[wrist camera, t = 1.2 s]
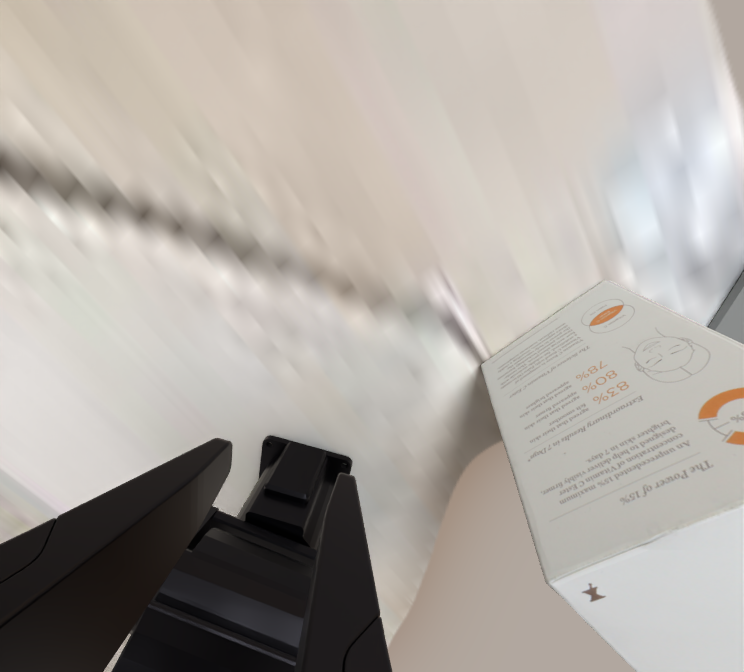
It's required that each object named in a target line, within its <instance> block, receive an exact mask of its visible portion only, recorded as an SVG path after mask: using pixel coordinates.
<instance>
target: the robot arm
mask: <svg viewBox="0 0 744 672" xmlns="http://www.w3.org/2000/svg"><path fill="white" fill-rule="evenodd" d="M269 442H271V443H272V444H270V443H269ZM231 461H232V443H231V442H230V441H227V440H224V439H220V438H215V439H212V440H210V441H208V442H206V443H204V444H202V445H200V446H198V447H196V448H194V449H192V450H190V451H188V452H186V453H184V454H182V455H180V456H178V457H176V458H174V459H172V460H170V461H168V462H166V463H164V464H162V465H160V466H158V467H156V468H154V469H152V470H150V471H148V472H146V473H144V474H142V475H140V476H138V477H136V478H134V479H132V480H130V481H128V482H126V483H124V484H122V485H120V486H118V487H116V488H114V489H112V490H110V491H108V492H106V493H104V494H102V495H100V496H98V497H96V498H94V499H92V500H90V501H88V502H86V503H84V504H81V505H79V506H77V507H75V508H73V509H71V510H69V511H67V512H65V513H63V514H61V515H59V516H58V518H57V519H56V518H53V519H51V520H49V521H47V522H45V523H43V524H41V525H39V526H37V527H35V528H33V529H31V530H29V531H27V532H25V533H22V534H20V535H18V536H16V537H14V538H12V539H10V540H8V541H6V542H4V543H1V544H0V672H103V671H104V669H105V668H106V667H107V665H108V664H109V662H110V661H111V659H112V658H113V656H114V655H115V653H116V652H117V650H118V649H119V647H120V646H121V644H122V643H123V641H124V640H125V638H126V637H127V635H128V634H129V633H130V634H131V636H130V638H129V640H128V642H127V644H126V646H125V647H124V649H123V651H122V653H121V655H120V657H119V659H118V661H117V662H116V664H115V666H114V668H113V670H112V672H392V668H391V663H390V659H389V654H388V649H387V645H386V640H385V635H384V629H383V624H382V619H381V617H380V609H379V604H378V598H377V593H376V587H375V582H374V577H373V571H372V566H371V560H370V555H369V550H368V544H367V539H366V533H365V528H364V523H363V517H362V512H361V506H360V501H359V496H358V490H357V485H356V480H355V477H354V476H352V475H350V471H351V467H352V460H351V459H350V458H349V457H347V456H344V455H340V454H336V453H333V452H329V451H326V450H322V449H318V448H315V447H311V446H308V445H304V444H300V443H297V442H293V441H290V440H286V439H282V438H279V437H275V436H267V437H266V438H265V440H264V441H263V445H262V455H261V464H260V473H259V480H258V482H257V484H256V485H255V487H254V489H253V490H252V492H251V494H250V495H249V497H248V499H247V500H246V502H245V504H244V505H243V507H242V509H241V510H240V512H239V514H238V515H237V517H234V516H231V515H229V514H226V513H224V512H221V511H219V509H218V508H216V507H213V506H212V504H213V502H214V500H215V499H216V497H217V495H218V493H219V491H220V489H221V487H222V486H223V484H224V482H225V480H226V478H227V476H228V474H229V472H230V469H231ZM343 463H346V464H347V465H345V464H343Z"/></svg>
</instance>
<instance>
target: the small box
mask: <svg viewBox="0 0 744 672" xmlns="http://www.w3.org/2000/svg"><path fill="white" fill-rule="evenodd" d="M481 368H482V372H483V375H484V379H485V382H486V385H487V389H488V393H489V396H490V400H491V404H492V407H493V410H494V413H495V417H496V420H497V423H498V427H499V430H500V433H501V436H502V439H503V443H504V446H505V449H506V452H507V456H508V459H509V462H510V465H511V468H512V472H513V475H514V479H515V482H516V485H517V488H518V492H519V495H520V499H521V502H522V505H523V509H524V512H525V515H526V519H527V522H528V525H529V529H530V532H531V536H532V539H533V542H534V545H535V549H536V552H537V555H538V558H539V562H540V565H541V569H542V572H543V575H544V579H545V582H546V583H547V584H548V585H549V586H550V587H551V588H552V589H553V590H554V591H556V593H558V594H559V595H560V596H561V597H562V598H563V599H564V600H565V601H566V602H567V603H568V604H569V605H570V606H571V607H572V608H573V609H574V610H575V611H576V612H577V613H578V614H579V615H580V616H581V617H582V618H583V619H584V620H585V621H586V622H587V624H589V626H590V627H591V628H593V630H595V631H596V632H597V633H598V634H599V635H600V636H601V637H602V638H603V639H604V640H605V641H606V642H607V643H608V644H609V645H610V646H611V647H612V648H613V649H614V650H615V651H616V652H617V653H618V654H619V655H620V656H621V657H622V658H623V659H624V660H625V661H626V662H627V663H628V664H629V665H630V666H631V667H632V668H633V669H634V670H635V671H636V672H744V345H743V344H741V343H739V342H737V341H735V340H733V339H731V338H729V337H727V336H724V335H722V334H720V333H718V332H716V331H714V330H712V329H710V328H707V327H705V326H703V325H701V324H699V323H697V322H695V321H693V320H691V319H689V318H687V317H685V316H683V315H681V314H679V313H677V312H675V311H673V310H671V309H669V308H667V307H665V306H662V305H660V304H658V303H657V302H655V301H652V300H650V299H648V298H646V297H644V296H642V295H640V294H638V293H635V292H633V291H631V290H629V289H627V288H625V287H623V286H621V285H618V284H616V283H614V282H612V281H609V280H604V281H602V282H601V283H599V284H598V285H597V286H595V287H594V288H592V289H591V290H589V291H588V292H586V293H585V294H583V295H582V296H580V297H579V298H577V299H576V300H574V301H573V302H571V303H570V304H569V305H567V306H566V307H564V308H563V309H561V310H560V311H558V312H557V313H555V314H554V315H553V316H551V317H550V318H548V319H547V320H545V321H544V322H542V323H541V324H539V325H538V326H536V327H535V328H533V329H532V330H530V331H529V332H527V333H526V334H525V335H523V336H522V337H520V338H519V339H517V340H516V341H514V342H513V343H512V344H510V345H509V346H507V347H506V348H504V349H503V350H501V351H500V352H498V353H497V354H496V355H494V356H493V357H491V358H490V359H488V360H487V361H485V362H484V363H483V364H482V365H481Z"/></svg>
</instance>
